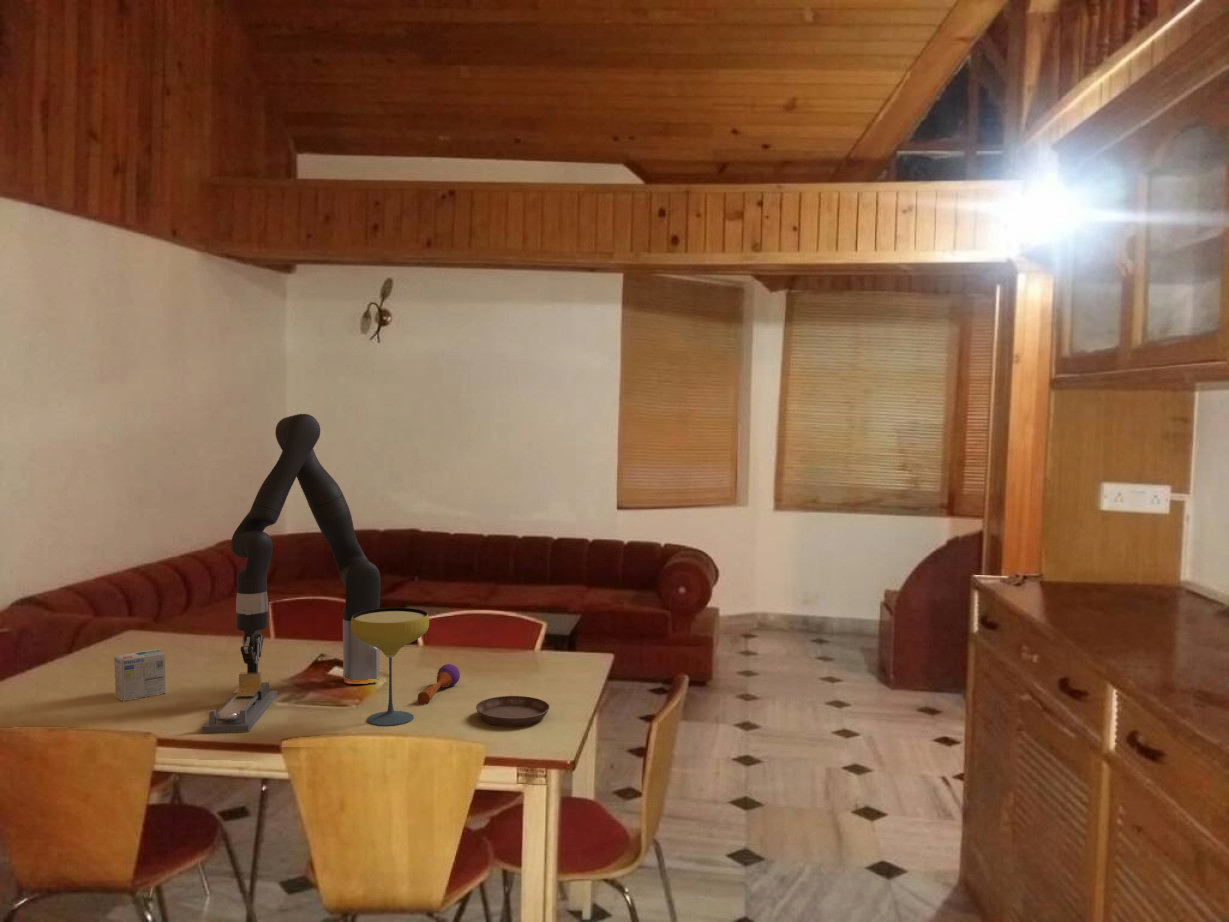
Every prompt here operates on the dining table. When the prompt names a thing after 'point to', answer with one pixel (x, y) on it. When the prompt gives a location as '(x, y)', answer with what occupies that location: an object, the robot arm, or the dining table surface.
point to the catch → (248, 684)
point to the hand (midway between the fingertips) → (252, 677)
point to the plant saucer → (512, 710)
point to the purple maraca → (440, 682)
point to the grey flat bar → (236, 707)
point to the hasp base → (242, 714)
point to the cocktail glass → (390, 645)
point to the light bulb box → (140, 674)
